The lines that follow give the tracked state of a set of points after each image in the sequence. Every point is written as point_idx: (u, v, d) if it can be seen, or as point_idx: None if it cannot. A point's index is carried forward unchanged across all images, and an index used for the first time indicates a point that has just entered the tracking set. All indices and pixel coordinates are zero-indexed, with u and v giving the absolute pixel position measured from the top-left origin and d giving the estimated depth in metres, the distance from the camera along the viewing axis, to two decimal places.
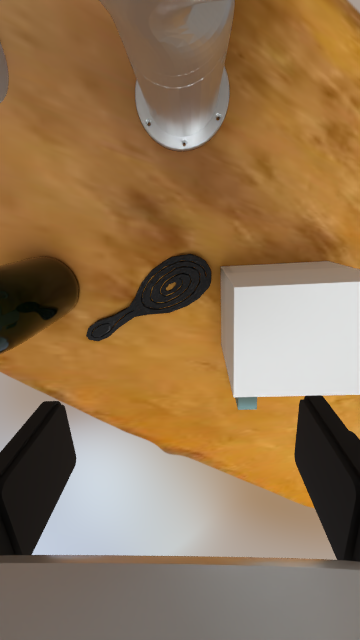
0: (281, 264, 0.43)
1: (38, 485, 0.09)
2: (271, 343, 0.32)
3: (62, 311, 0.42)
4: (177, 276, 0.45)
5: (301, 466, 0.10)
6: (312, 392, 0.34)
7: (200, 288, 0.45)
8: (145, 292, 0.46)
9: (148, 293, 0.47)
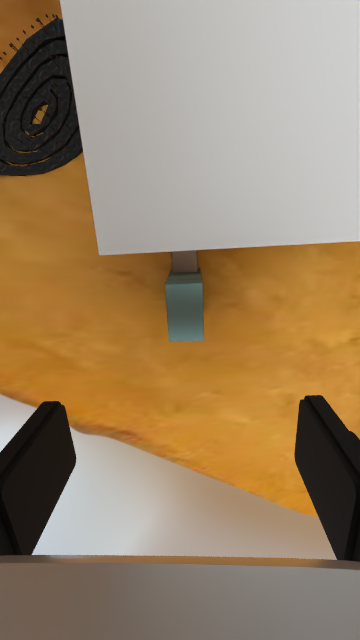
0: None
1: (38, 485, 0.09)
2: (185, 48, 0.10)
3: None
4: (46, 86, 0.23)
5: (301, 466, 0.10)
6: (312, 233, 0.12)
7: None
8: None
9: None
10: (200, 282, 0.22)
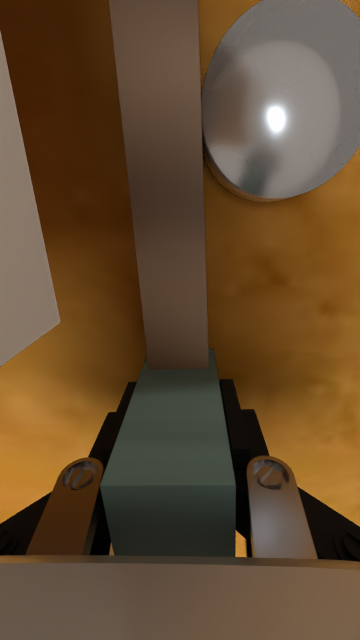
0: None
1: None
2: None
3: None
4: None
5: None
6: None
7: None
8: None
9: None
10: (227, 474, 0.06)
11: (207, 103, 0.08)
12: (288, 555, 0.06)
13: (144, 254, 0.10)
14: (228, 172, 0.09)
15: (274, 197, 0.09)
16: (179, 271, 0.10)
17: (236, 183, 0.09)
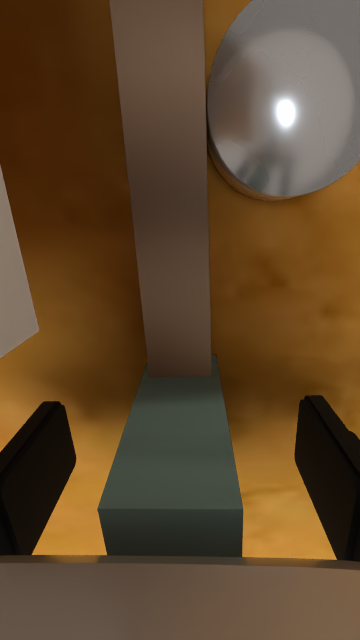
0: None
1: (38, 485, 0.09)
2: None
3: None
4: None
5: (301, 466, 0.10)
6: None
7: None
8: None
9: None
10: (234, 496, 0.06)
11: (214, 95, 0.08)
12: None
13: (145, 258, 0.09)
14: (235, 169, 0.08)
15: (284, 195, 0.09)
16: (182, 275, 0.09)
17: (244, 180, 0.08)
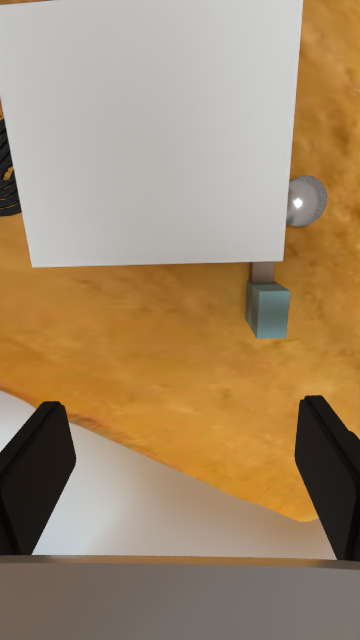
0: None
1: (38, 485, 0.09)
2: (79, 145, 0.17)
3: None
4: None
5: (301, 466, 0.10)
6: (169, 257, 0.19)
7: None
8: None
9: None
10: (287, 290, 0.28)
11: None
12: None
13: None
14: None
15: None
16: None
17: (287, 221, 0.30)
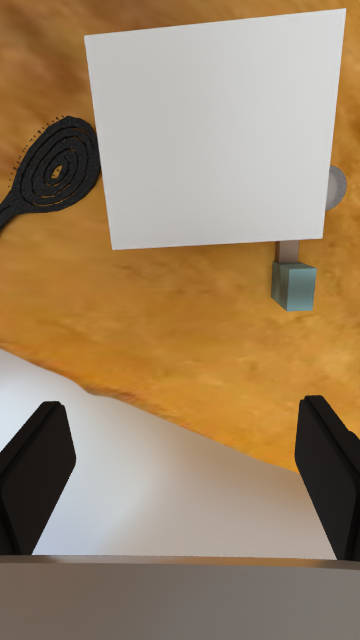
0: None
1: (38, 485, 0.09)
2: (157, 146, 0.21)
3: None
4: (61, 154, 0.34)
5: (301, 466, 0.10)
6: (228, 238, 0.22)
7: (91, 168, 0.34)
8: (24, 181, 0.36)
9: (29, 183, 0.36)
10: (314, 267, 0.32)
11: None
12: None
13: None
14: None
15: None
16: None
17: None
